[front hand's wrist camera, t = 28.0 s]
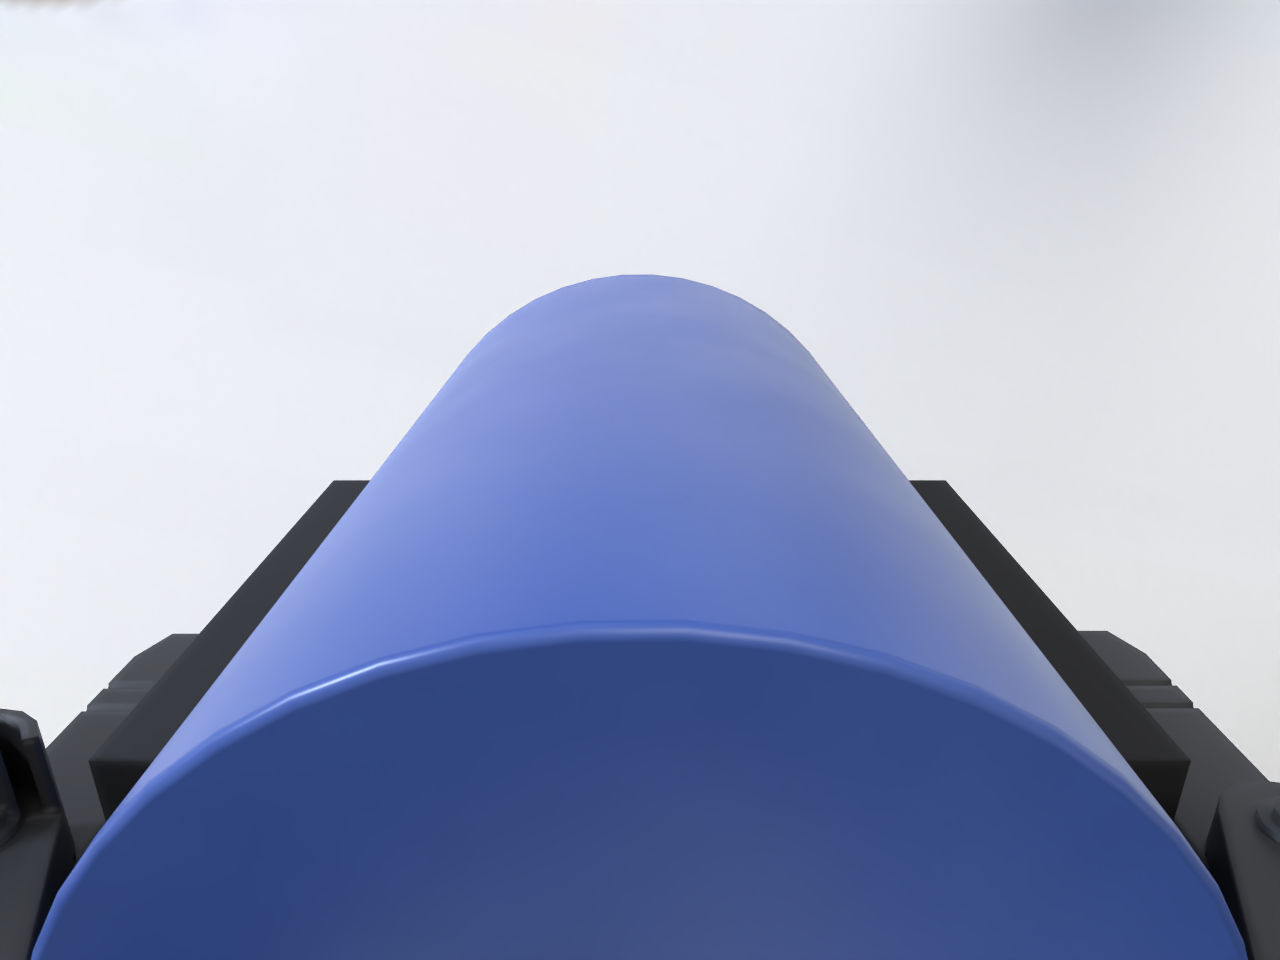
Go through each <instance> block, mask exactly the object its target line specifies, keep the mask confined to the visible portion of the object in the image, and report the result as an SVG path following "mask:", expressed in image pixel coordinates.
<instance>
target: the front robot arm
mask: <svg viewBox="0 0 1280 960" xmlns="http://www.w3.org/2000/svg"><path fill="white" fill-rule="evenodd" d="M908 481H909V482H910V483H911V484H912V486H913V487H914V488H915V490H916V491H917V492H918V493H919V495H920V496H921V497H922V499H923V500H924V501H925V502H926V504H927V505H928V506H929V508H930V509H931V510H932V511H933V513H934V514H935V515H936V517H937V518H938V519H939V520H940V522H941V523H942V524H943V526H944V527H945V528H946V530H947V531H948V532H949V533H950V535H951V536H952V537H953V539H954V540H955V541H956V542H957V544H958V545H959V546H960V548H961V549H962V550H963V551H964V553H965V554H966V555H967V557H968V558H969V559H970V560H971V562H972V563H973V564H974V566H975V567H976V568H977V570H978V571H979V572H980V573H981V575H982V576H983V577H984V579H985V580H986V581H987V582H988V584H989V585H990V586H991V588H992V589H993V590H994V591H995V593H996V594H997V595H998V597H999V598H1000V599H1001V600H1002V602H1003V603H1004V604H1005V606H1006V607H1007V608H1008V610H1009V611H1010V612H1011V613H1012V615H1013V616H1014V617H1015V619H1016V620H1017V621H1018V622H1019V624H1020V625H1021V626H1022V628H1023V629H1024V630H1025V631H1026V633H1027V634H1028V635H1029V637H1030V638H1031V639H1032V640H1033V642H1034V643H1035V644H1036V646H1037V647H1038V648H1039V649H1040V651H1041V652H1042V653H1043V655H1044V656H1045V657H1046V659H1047V660H1048V661H1049V662H1050V664H1051V665H1052V666H1053V668H1054V669H1055V670H1056V671H1057V673H1058V674H1059V675H1060V677H1061V678H1062V679H1063V680H1064V682H1065V683H1066V684H1067V686H1068V687H1069V688H1070V689H1071V691H1072V692H1073V693H1074V695H1075V696H1076V697H1077V699H1078V700H1079V701H1080V702H1081V704H1082V705H1083V706H1084V708H1085V709H1086V710H1087V711H1088V713H1089V714H1090V715H1091V717H1092V718H1093V719H1094V720H1095V722H1096V723H1097V724H1098V726H1099V727H1100V728H1101V729H1102V731H1103V732H1104V733H1105V735H1106V736H1107V737H1108V739H1109V740H1110V741H1111V742H1112V744H1113V745H1114V746H1115V748H1116V749H1117V750H1118V751H1119V753H1120V754H1121V755H1122V757H1123V758H1124V759H1125V760H1126V762H1127V763H1128V764H1129V766H1130V767H1131V768H1132V769H1133V771H1134V772H1135V773H1136V775H1137V776H1138V777H1139V779H1140V780H1141V781H1142V782H1143V784H1144V785H1145V786H1146V788H1147V789H1148V790H1149V791H1150V793H1151V794H1152V795H1153V797H1154V798H1155V799H1156V800H1157V802H1158V803H1159V804H1160V806H1161V807H1162V808H1163V809H1164V811H1165V812H1166V813H1167V815H1168V816H1169V817H1170V818H1171V820H1172V821H1173V822H1174V824H1175V825H1176V826H1177V828H1178V829H1179V830H1180V832H1181V833H1182V835H1183V836H1184V837H1185V839H1186V840H1187V842H1188V843H1189V844H1190V846H1191V847H1192V849H1193V850H1194V852H1195V853H1196V854H1197V856H1198V857H1199V859H1200V860H1201V861H1202V863H1203V864H1204V866H1205V867H1206V868H1207V870H1208V871H1209V873H1210V874H1211V876H1212V877H1213V878H1214V880H1215V881H1216V883H1217V884H1218V886H1219V888H1220V891H1221V893H1222V895H1223V897H1224V899H1225V902H1226V904H1227V906H1228V908H1229V910H1230V913H1231V915H1232V917H1233V919H1234V921H1235V924H1236V926H1237V928H1238V930H1239V932H1240V935H1241V937H1242V939H1243V941H1244V945H1245V949H1246V953H1247V958H1248V960H1280V783H1276V782H1269V781H1268V780H1267V779H1266V777H1265V776H1264V775H1263V774H1262V773H1261V772H1260V771H1259V770H1258V769H1257V768H1256V767H1255V766H1254V765H1253V764H1252V763H1251V762H1250V761H1249V760H1248V759H1247V758H1246V757H1245V756H1244V755H1243V754H1242V753H1241V752H1240V751H1239V750H1238V749H1237V748H1236V747H1235V745H1234V744H1233V743H1232V742H1231V741H1230V740H1229V739H1228V738H1227V737H1226V736H1225V735H1224V734H1223V733H1222V732H1221V731H1220V730H1219V729H1218V728H1217V727H1216V726H1215V725H1214V724H1213V723H1212V722H1211V721H1210V720H1209V719H1208V718H1207V717H1206V716H1205V715H1204V714H1203V712H1202V711H1201V710H1200V709H1199V708H1193V702H1192V701H1191V700H1190V699H1189V698H1188V697H1187V696H1186V695H1185V694H1184V693H1183V692H1182V691H1181V690H1180V689H1179V688H1178V687H1177V686H1172V684H1171V679H1170V678H1169V677H1168V676H1167V675H1166V674H1165V673H1164V672H1163V671H1162V670H1161V669H1160V668H1159V667H1158V666H1157V665H1156V664H1155V663H1154V662H1153V661H1152V660H1151V659H1150V658H1149V657H1148V656H1147V655H1146V654H1145V653H1143V652H1142V651H1140V650H1138V649H1137V648H1135V647H1133V646H1132V645H1130V644H1128V643H1127V642H1125V641H1123V640H1121V639H1120V638H1118V637H1116V636H1115V635H1113V634H1111V633H1110V632H1108V631H1077V630H1076V629H1075V628H1074V627H1073V625H1072V624H1071V623H1070V622H1069V621H1068V620H1067V619H1066V617H1065V616H1064V615H1063V614H1062V613H1061V612H1060V611H1059V609H1058V608H1057V607H1056V606H1055V605H1054V604H1053V603H1052V601H1051V600H1050V599H1049V598H1048V597H1047V596H1046V595H1045V593H1044V592H1043V591H1042V590H1041V589H1040V588H1039V587H1038V585H1037V584H1036V583H1035V582H1034V581H1033V580H1032V579H1031V577H1030V576H1029V575H1028V574H1027V573H1026V572H1025V571H1024V569H1023V568H1022V567H1021V566H1020V565H1019V564H1018V563H1017V562H1016V560H1015V559H1014V558H1013V557H1012V556H1011V555H1010V554H1009V552H1008V551H1007V550H1006V549H1005V548H1004V547H1003V546H1002V544H1001V543H1000V542H999V541H998V540H997V539H996V538H995V536H994V535H993V534H992V533H991V532H990V531H989V530H988V528H987V527H986V526H985V525H984V524H983V523H982V522H981V520H980V519H979V518H978V517H977V516H976V515H975V514H974V512H973V511H972V510H971V509H970V508H969V507H968V506H967V504H966V503H965V502H964V501H963V500H962V499H961V498H960V496H959V495H958V494H957V493H956V492H955V491H954V490H953V488H952V487H951V486H950V485H949V484H948V483H947V482H946V481H945V480H908ZM369 482H370V481H333V482H332V483H331V484H330V485H329V487H328V488H327V489H326V490H325V491H324V492H323V493H322V495H321V496H320V497H319V498H318V499H317V500H316V501H315V503H314V504H313V505H312V506H311V507H310V508H309V509H308V511H307V512H306V513H305V514H304V515H303V516H302V517H301V519H300V520H299V521H298V522H297V523H296V524H295V525H294V527H293V528H292V529H291V530H290V531H289V532H288V533H287V534H286V536H285V537H284V538H283V539H282V540H281V541H280V542H279V544H278V545H277V546H276V547H275V548H274V549H273V550H272V552H271V553H270V554H269V555H268V556H267V557H266V558H265V560H264V561H263V562H262V563H261V564H260V565H259V566H258V568H257V569H256V570H255V571H254V572H253V573H252V574H251V576H250V577H249V578H248V579H247V580H246V581H245V582H244V584H243V585H242V586H241V587H240V588H239V589H238V590H237V592H236V593H235V594H234V595H233V596H232V597H231V598H230V600H229V601H228V602H227V603H226V604H225V605H224V606H223V607H222V609H221V610H220V611H219V612H218V613H217V614H216V615H215V617H214V618H213V619H212V620H211V621H210V622H209V623H208V625H207V626H206V627H205V628H204V629H203V630H202V631H201V633H200V634H172V635H170V636H168V637H167V638H165V639H163V640H162V641H160V642H158V643H157V644H155V645H153V646H152V647H150V648H148V649H147V650H145V651H143V652H142V653H140V654H138V655H137V656H135V657H134V658H133V659H132V660H131V661H130V662H129V663H128V664H127V665H126V666H125V667H124V668H123V669H122V670H121V671H120V672H119V673H118V674H117V675H116V676H115V677H114V678H113V680H112V681H111V682H110V683H109V687H108V689H103V690H102V691H101V692H100V693H99V694H98V695H97V696H96V697H95V698H94V699H93V700H92V701H91V702H90V703H89V704H88V705H87V711H86V712H81V713H80V714H79V715H78V716H77V717H76V718H75V719H74V720H73V721H72V722H71V723H70V724H69V725H68V726H67V727H66V728H65V729H64V730H63V731H62V733H61V734H60V735H59V736H58V737H57V738H56V739H55V740H54V741H53V742H52V743H51V744H50V745H49V746H48V747H47V748H46V749H45V746H44V743H43V739H42V736H41V733H40V730H39V727H38V723H37V721H36V720H35V719H33V718H32V717H30V716H29V715H27V714H26V713H24V712H23V711H15V710H7V709H0V960H31V957H32V952H33V949H34V947H35V944H36V942H37V940H38V937H39V935H40V933H41V930H42V928H43V925H44V923H45V921H46V918H47V916H48V914H49V911H50V909H51V907H52V904H53V902H54V900H55V897H56V895H57V892H58V891H59V889H60V888H61V887H62V885H63V884H64V882H65V881H66V879H67V878H68V876H69V875H70V873H71V872H72V870H73V869H74V867H75V866H76V864H77V863H78V861H79V860H80V858H81V857H82V855H83V854H84V852H85V851H86V849H87V848H88V846H89V845H90V843H91V842H92V840H93V839H94V837H95V836H96V835H97V833H98V832H99V831H100V829H101V828H102V827H103V826H104V824H105V823H106V822H107V820H108V819H109V818H110V817H111V815H112V814H113V813H114V811H115V810H116V809H117V807H118V806H119V805H120V804H121V802H122V801H123V800H124V798H125V797H126V796H127V795H128V793H129V792H130V791H131V789H132V788H133V787H134V786H135V784H136V783H137V782H138V780H139V779H140V778H141V776H142V775H143V774H144V773H145V771H146V770H147V769H148V767H149V766H150V765H151V764H152V762H153V761H154V760H155V758H156V757H157V756H158V754H159V753H160V752H161V751H162V749H163V748H164V747H165V745H166V744H167V743H168V742H169V740H170V739H171V738H172V736H173V735H174V734H175V733H176V731H177V730H178V729H179V727H180V726H181V725H182V723H183V722H184V721H185V720H186V718H187V717H188V716H189V714H190V713H191V712H192V711H193V709H194V708H195V707H196V705H197V704H198V703H199V701H200V700H201V699H202V698H203V696H204V695H205V694H206V692H207V691H208V690H209V689H210V687H211V686H212V685H213V683H214V682H215V681H216V680H217V678H218V677H219V676H220V674H221V673H222V672H223V670H224V669H225V668H226V667H227V665H228V664H229V663H230V661H231V660H232V659H233V658H234V656H235V655H236V654H237V652H238V651H239V650H240V648H241V647H242V646H243V645H244V643H245V642H246V641H247V639H248V638H249V637H250V636H251V634H252V633H253V632H254V630H255V629H256V628H257V627H258V625H259V624H260V623H261V621H262V620H263V619H264V617H265V616H266V615H267V614H268V612H269V611H270V610H271V608H272V607H273V606H274V605H275V603H276V602H277V601H278V599H279V598H280V597H281V595H282V594H283V593H284V592H285V590H286V589H287V588H288V586H289V585H290V584H291V583H292V581H293V580H294V579H295V577H296V576H297V575H298V573H299V572H300V571H301V570H302V568H303V567H304V566H305V564H306V563H307V562H308V561H309V559H310V558H311V557H312V555H313V554H314V553H315V552H316V550H317V549H318V548H319V546H320V545H321V544H322V542H323V541H324V540H325V539H326V537H327V536H328V535H329V533H330V532H331V531H332V530H333V528H334V527H335V526H336V524H337V523H338V522H339V520H340V519H341V518H342V517H343V515H344V514H345V513H346V511H347V510H348V509H349V508H350V506H351V505H352V504H353V502H354V501H355V500H356V499H357V497H358V496H359V495H360V493H361V492H362V491H363V489H364V488H365V487H366V486H367V484H368V483H369Z"/></svg>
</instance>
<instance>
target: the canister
mask: <svg viewBox="0 0 1280 960" xmlns="http://www.w3.org/2000/svg"><path fill="white" fill-rule="evenodd" d="M31 960H1248V958H1247V953H1246V949H1245V945H1244V941H1243V939H1242V937H1241V935H1240V932H1239V930H1238V928H1237V926H1236V924H1235V921H1234V919H1233V917H1232V915H1231V913H1230V910H1229V908H1228V906H1227V904H1226V902H1225V899H1224V897H1223V895H1222V893H1221V891H1220V888H1219V886H1218V884H1217V883H1216V881H1215V880H1214V878H1213V877H1212V876H1211V874H1210V873H1209V871H1208V870H1207V868H1206V867H1205V866H1204V864H1203V863H1202V861H1201V860H1200V859H1199V857H1198V856H1197V854H1196V853H1195V852H1194V850H1193V849H1192V847H1191V846H1190V844H1189V843H1188V842H1187V840H1186V839H1185V837H1184V836H1183V835H1182V833H1181V832H1180V830H1179V829H1178V828H1177V826H1176V825H1175V824H1174V822H1173V821H1172V820H1171V818H1170V817H1169V816H1168V815H1167V813H1166V812H1165V811H1164V809H1163V808H1162V807H1161V806H1160V804H1159V803H1158V802H1157V800H1156V799H1155V798H1154V797H1153V795H1152V794H1151V793H1150V791H1149V790H1148V789H1147V788H1146V786H1145V785H1144V784H1143V782H1142V781H1141V780H1140V779H1139V777H1138V776H1137V775H1136V773H1135V772H1134V771H1133V769H1132V768H1131V767H1130V766H1129V764H1128V763H1127V762H1126V760H1125V759H1124V758H1123V757H1122V755H1121V754H1120V753H1119V751H1118V750H1117V749H1116V748H1115V746H1114V745H1113V744H1112V742H1111V741H1110V740H1109V739H1108V737H1107V736H1106V735H1105V733H1104V732H1103V731H1102V729H1101V728H1100V727H1099V726H1098V724H1097V723H1096V722H1095V720H1094V719H1093V718H1092V717H1091V715H1090V714H1089V713H1088V711H1087V710H1086V709H1085V708H1084V706H1083V705H1082V704H1081V702H1080V701H1079V700H1078V699H1077V697H1076V696H1075V695H1074V693H1073V692H1072V691H1071V689H1070V688H1069V687H1068V686H1067V684H1066V683H1065V682H1064V680H1063V679H1062V678H1061V677H1060V675H1059V674H1058V673H1057V671H1056V670H1055V669H1054V668H1053V666H1052V665H1051V664H1050V662H1049V661H1048V660H1047V659H1046V657H1045V656H1044V655H1043V653H1042V652H1041V651H1040V649H1039V648H1038V647H1037V646H1036V644H1035V643H1034V642H1033V640H1032V639H1031V638H1030V637H1029V635H1028V634H1027V633H1026V631H1025V630H1024V629H1023V628H1022V626H1021V625H1020V624H1019V622H1018V621H1017V620H1016V619H1015V617H1014V616H1013V615H1012V613H1011V612H1010V611H1009V610H1008V608H1007V607H1006V606H1005V604H1004V603H1003V602H1002V600H1001V599H1000V598H999V597H998V595H997V594H996V593H995V591H994V590H993V589H992V588H991V586H990V585H989V584H988V582H987V581H986V580H985V579H984V577H983V576H982V575H981V573H980V572H979V571H978V570H977V568H976V567H975V566H974V564H973V563H972V562H971V560H970V559H969V558H968V557H967V555H966V554H965V553H964V551H963V550H962V549H961V548H960V546H959V545H958V544H957V542H956V541H955V540H954V539H953V537H952V536H951V535H950V533H949V532H948V531H947V530H946V528H945V527H944V526H943V524H942V523H941V522H940V520H939V519H938V518H937V517H936V515H935V514H934V513H933V511H932V510H931V509H930V508H929V506H928V505H927V504H926V502H925V501H924V500H923V499H922V497H921V496H920V495H919V493H918V492H917V491H916V490H915V488H914V487H913V486H912V484H911V483H910V482H909V481H908V479H907V478H906V477H905V475H904V474H903V473H902V471H901V470H900V469H899V468H898V466H897V465H896V464H895V462H894V461H893V460H892V459H891V457H890V456H889V455H888V453H887V452H886V451H885V450H884V448H883V447H882V446H881V444H880V443H879V442H878V441H877V439H876V438H875V437H874V435H873V434H872V433H871V431H870V430H869V429H868V428H867V426H866V425H865V424H864V422H863V421H862V420H861V419H860V417H859V416H858V415H857V413H856V412H855V411H854V410H853V408H852V407H851V406H850V404H849V403H848V402H847V401H846V399H845V398H844V397H843V395H842V394H841V393H840V391H839V390H838V389H837V388H836V386H835V385H834V384H833V382H832V381H831V380H830V379H829V377H828V376H827V375H826V373H825V372H824V371H823V370H822V368H821V367H820V366H819V364H818V363H817V362H816V361H815V359H814V358H813V357H812V355H811V354H810V353H809V351H808V350H807V349H806V348H805V347H804V346H803V345H802V344H801V343H800V342H799V341H798V340H797V339H796V338H795V337H794V336H793V335H792V334H791V333H790V332H789V331H788V330H787V329H786V328H785V327H783V326H782V325H781V324H779V323H778V322H777V321H776V320H774V319H773V318H772V317H771V316H769V315H768V314H767V313H765V312H764V311H762V310H760V309H759V308H757V307H755V306H753V305H752V304H750V303H748V302H747V301H745V300H743V299H741V298H740V297H737V296H735V295H732V294H730V293H727V292H725V291H723V290H720V289H718V288H715V287H713V286H710V285H706V284H702V283H698V282H694V281H691V280H687V279H683V278H675V277H667V276H659V275H619V276H611V277H604V278H597V279H591V280H588V281H584V282H581V283H577V284H574V285H570V286H566V287H563V288H561V289H558V290H556V291H554V292H551V293H549V294H547V295H544V296H542V297H540V298H538V299H535V300H534V301H532V302H530V303H529V304H527V305H525V306H524V307H522V308H520V309H519V310H517V311H516V312H514V313H512V314H511V315H509V316H508V317H507V318H506V319H504V320H503V321H502V322H501V323H499V324H498V325H497V326H496V327H495V328H493V329H492V330H491V331H490V332H488V333H487V334H486V335H485V337H484V338H483V339H482V340H481V341H480V342H479V343H478V344H477V345H476V346H475V347H474V348H473V349H472V351H471V352H470V353H469V354H468V355H467V356H466V358H465V359H464V360H463V361H462V363H461V364H460V365H459V367H458V368H457V369H456V371H455V372H454V373H453V374H452V376H451V377H450V378H449V380H448V381H447V382H446V383H445V385H444V386H443V387H442V389H441V390H440V391H439V393H438V394H437V395H436V396H435V398H434V399H433V400H432V402H431V403H430V404H429V405H428V407H427V408H426V409H425V411H424V412H423V413H422V414H421V416H420V417H419V418H418V420H417V421H416V422H415V424H414V425H413V426H412V427H411V429H410V430H409V431H408V433H407V434H406V435H405V436H404V438H403V439H402V440H401V442H400V443H399V444H398V446H397V447H396V448H395V449H394V451H393V452H392V453H391V455H390V456H389V457H388V458H387V460H386V461H385V462H384V464H383V465H382V466H381V467H380V469H379V470H378V471H377V473H376V474H375V475H374V477H373V478H372V479H371V480H370V482H369V483H368V484H367V486H366V487H365V488H364V489H363V491H362V492H361V493H360V495H359V496H358V497H357V499H356V500H355V501H354V502H353V504H352V505H351V506H350V508H349V509H348V510H347V511H346V513H345V514H344V515H343V517H342V518H341V519H340V520H339V522H338V523H337V524H336V526H335V527H334V528H333V530H332V531H331V532H330V533H329V535H328V536H327V537H326V539H325V540H324V541H323V542H322V544H321V545H320V546H319V548H318V549H317V550H316V552H315V553H314V554H313V555H312V557H311V558H310V559H309V561H308V562H307V563H306V564H305V566H304V567H303V568H302V570H301V571H300V572H299V573H298V575H297V576H296V577H295V579H294V580H293V581H292V583H291V584H290V585H289V586H288V588H287V589H286V590H285V592H284V593H283V594H282V595H281V597H280V598H279V599H278V601H277V602H276V603H275V605H274V606H273V607H272V608H271V610H270V611H269V612H268V614H267V615H266V616H265V617H264V619H263V620H262V621H261V623H260V624H259V625H258V627H257V628H256V629H255V630H254V632H253V633H252V634H251V636H250V637H249V638H248V639H247V641H246V642H245V643H244V645H243V646H242V647H241V648H240V650H239V651H238V652H237V654H236V655H235V656H234V658H233V659H232V660H231V661H230V663H229V664H228V665H227V667H226V668H225V669H224V670H223V672H222V673H221V674H220V676H219V677H218V678H217V680H216V681H215V682H214V683H213V685H212V686H211V687H210V689H209V690H208V691H207V692H206V694H205V695H204V696H203V698H202V699H201V700H200V701H199V703H198V704H197V705H196V707H195V708H194V709H193V711H192V712H191V713H190V714H189V716H188V717H187V718H186V720H185V721H184V722H183V723H182V725H181V726H180V727H179V729H178V730H177V731H176V733H175V734H174V735H173V736H172V738H171V739H170V740H169V742H168V743H167V744H166V745H165V747H164V748H163V749H162V751H161V752H160V753H159V754H158V756H157V757H156V758H155V760H154V761H153V762H152V764H151V765H150V766H149V767H148V769H147V770H146V771H145V773H144V774H143V775H142V776H141V778H140V779H139V780H138V782H137V783H136V784H135V786H134V787H133V788H132V789H131V791H130V792H129V793H128V795H127V796H126V797H125V798H124V800H123V801H122V802H121V804H120V805H119V806H118V807H117V809H116V810H115V811H114V813H113V814H112V815H111V817H110V818H109V819H108V820H107V822H106V823H105V824H104V826H103V827H102V828H101V829H100V831H99V832H98V833H97V835H96V836H95V837H94V839H93V840H92V842H91V843H90V845H89V846H88V848H87V849H86V851H85V852H84V854H83V855H82V857H81V858H80V860H79V861H78V863H77V864H76V866H75V867H74V869H73V870H72V872H71V873H70V875H69V876H68V878H67V879H66V881H65V882H64V884H63V885H62V887H61V888H60V889H59V891H58V892H57V895H56V897H55V900H54V902H53V904H52V907H51V909H50V911H49V914H48V916H47V918H46V921H45V923H44V925H43V928H42V930H41V933H40V935H39V937H38V940H37V942H36V944H35V947H34V949H33V952H32V957H31Z"/></svg>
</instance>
